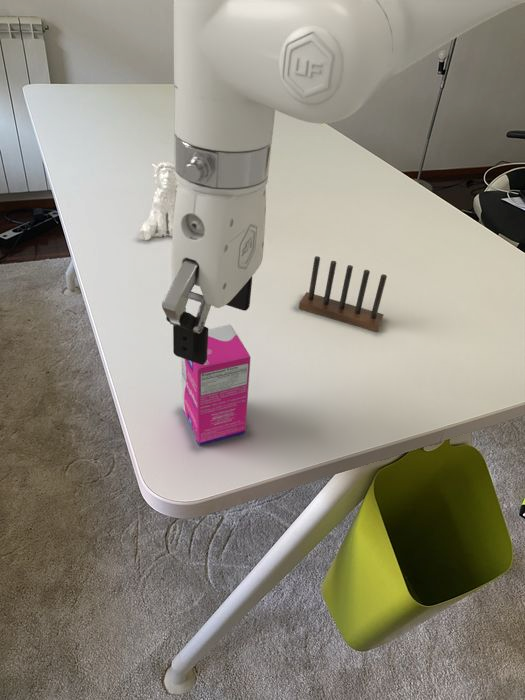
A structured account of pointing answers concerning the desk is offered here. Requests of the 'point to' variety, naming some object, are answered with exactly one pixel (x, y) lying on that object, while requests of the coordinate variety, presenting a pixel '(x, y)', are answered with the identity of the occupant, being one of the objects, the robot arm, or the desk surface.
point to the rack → (343, 300)
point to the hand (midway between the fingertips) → (213, 330)
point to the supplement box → (217, 388)
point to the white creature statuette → (161, 203)
